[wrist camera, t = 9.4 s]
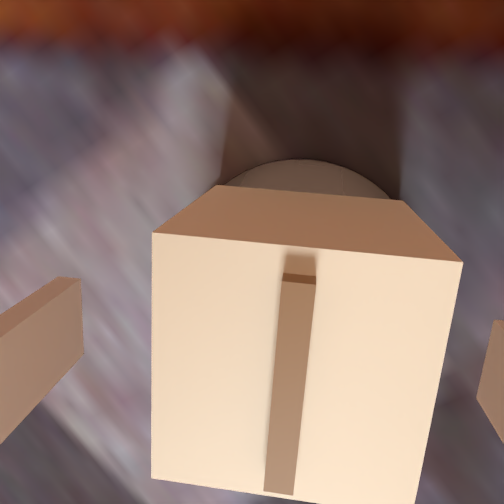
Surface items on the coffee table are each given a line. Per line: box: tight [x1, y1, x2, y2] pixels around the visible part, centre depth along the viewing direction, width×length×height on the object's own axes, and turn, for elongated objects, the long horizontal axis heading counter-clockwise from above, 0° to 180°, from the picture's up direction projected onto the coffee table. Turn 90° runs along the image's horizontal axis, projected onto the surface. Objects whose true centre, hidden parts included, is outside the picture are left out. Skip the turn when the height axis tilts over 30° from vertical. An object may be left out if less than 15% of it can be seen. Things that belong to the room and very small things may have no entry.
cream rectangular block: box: [151, 185, 463, 504], centre depth 16 cm, size 7×7×9 cm
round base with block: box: [224, 159, 391, 200], centre depth 18 cm, size 10×10×6 cm
